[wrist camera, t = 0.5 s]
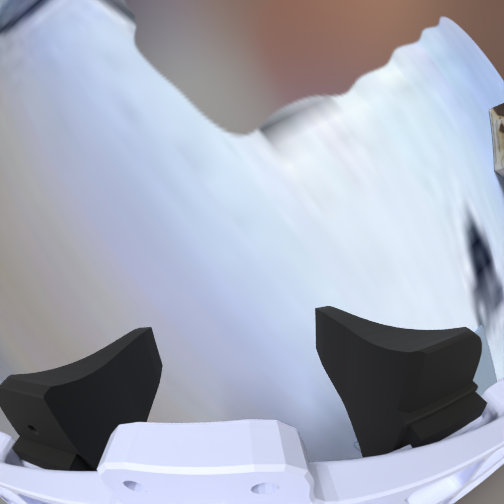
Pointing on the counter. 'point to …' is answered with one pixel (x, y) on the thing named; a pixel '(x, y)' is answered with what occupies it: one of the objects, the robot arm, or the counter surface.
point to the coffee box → (498, 137)
